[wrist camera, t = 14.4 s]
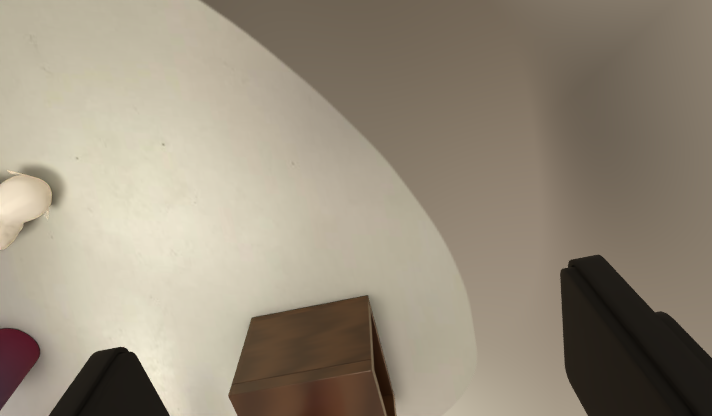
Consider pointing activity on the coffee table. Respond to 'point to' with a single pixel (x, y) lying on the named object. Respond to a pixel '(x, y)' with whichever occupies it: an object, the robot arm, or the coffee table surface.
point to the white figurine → (21, 204)
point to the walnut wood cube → (314, 364)
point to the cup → (15, 360)
